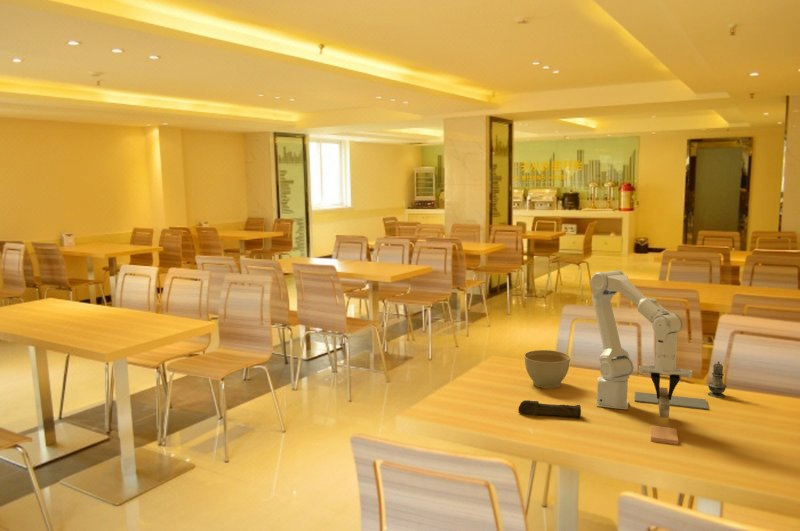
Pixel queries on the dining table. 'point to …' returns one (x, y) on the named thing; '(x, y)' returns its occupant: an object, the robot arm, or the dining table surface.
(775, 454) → the dining table surface
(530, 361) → the planter bowl
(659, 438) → the tile
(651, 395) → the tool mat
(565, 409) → the hand tool
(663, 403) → the two-tone flat stick
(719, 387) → the salt shaker
